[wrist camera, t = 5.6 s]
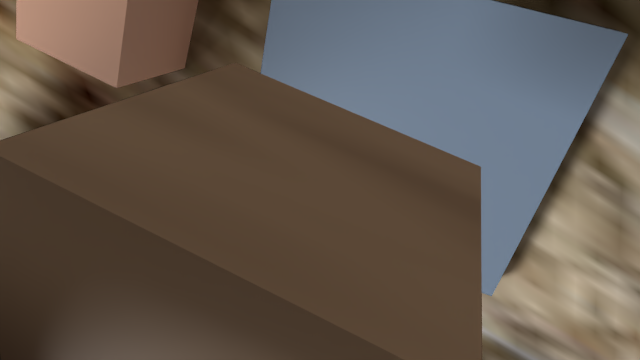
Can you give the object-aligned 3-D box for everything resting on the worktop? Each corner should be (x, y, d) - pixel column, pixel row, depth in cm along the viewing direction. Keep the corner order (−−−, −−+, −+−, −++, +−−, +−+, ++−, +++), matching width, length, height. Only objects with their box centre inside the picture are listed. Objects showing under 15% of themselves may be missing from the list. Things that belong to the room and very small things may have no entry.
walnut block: (338, 419, 12) (254, 677, 7) (177, 332, 12) (14, 522, 8) (481, 167, 8) (480, 399, 3) (235, 62, 8) (-19, 147, 4)
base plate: (490, 281, 21) (491, 296, 20) (250, 194, 24) (240, 204, 23) (618, 30, 16) (628, 34, 15) (290, -50, 18) (279, -52, 17)
